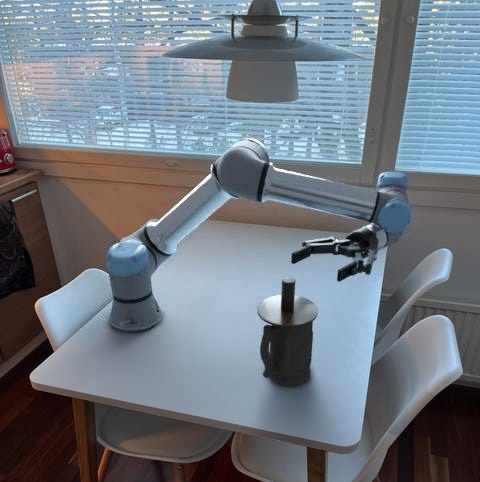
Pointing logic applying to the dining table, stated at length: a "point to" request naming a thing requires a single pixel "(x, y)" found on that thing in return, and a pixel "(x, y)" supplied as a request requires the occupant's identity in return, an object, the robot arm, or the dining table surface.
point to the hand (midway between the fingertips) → (314, 267)
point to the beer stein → (287, 353)
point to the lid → (287, 307)
